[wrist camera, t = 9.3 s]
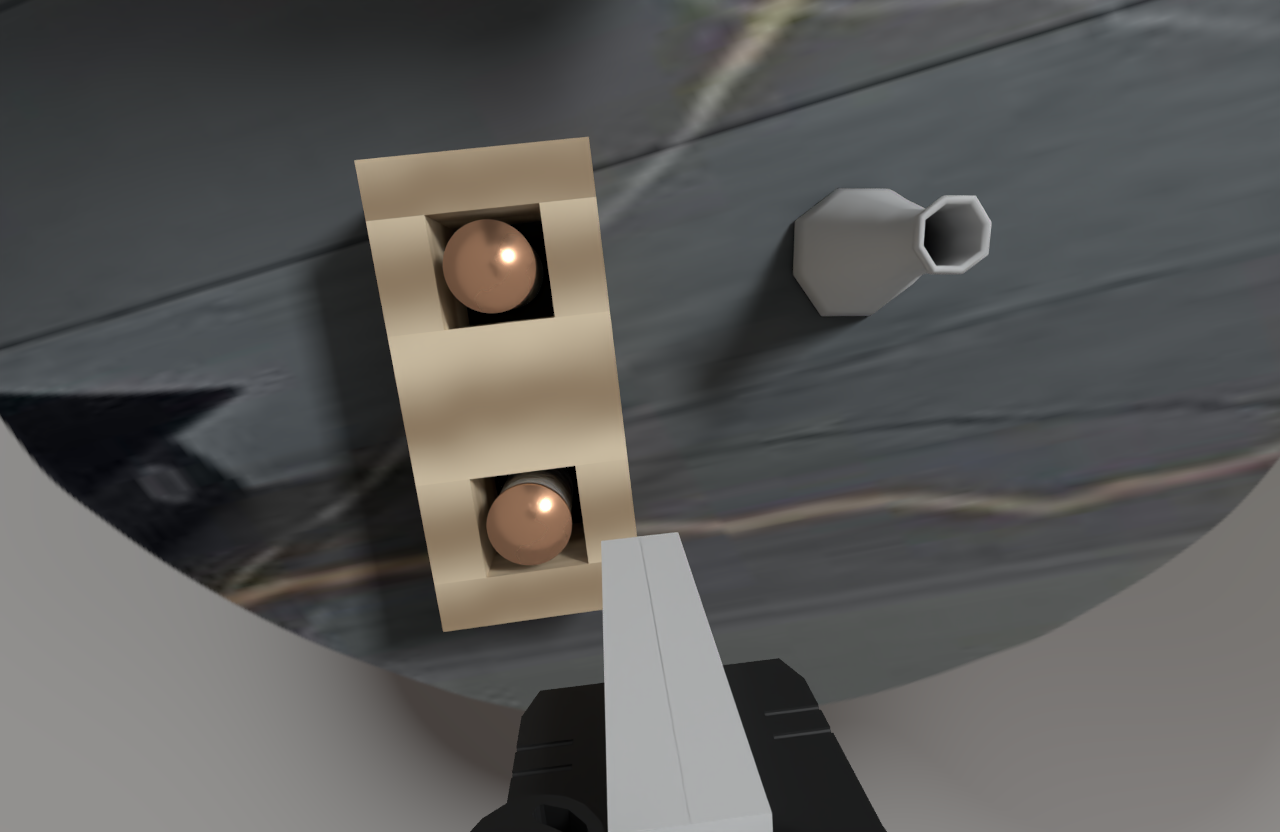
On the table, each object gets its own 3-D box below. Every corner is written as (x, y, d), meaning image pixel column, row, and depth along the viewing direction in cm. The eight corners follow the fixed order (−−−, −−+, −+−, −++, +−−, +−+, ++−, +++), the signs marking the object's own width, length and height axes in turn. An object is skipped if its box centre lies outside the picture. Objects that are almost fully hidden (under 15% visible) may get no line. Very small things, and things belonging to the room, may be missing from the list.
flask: (808, 336, 35) (891, 350, 26) (773, 210, 34) (846, 173, 24) (927, 295, 35) (1056, 292, 26) (897, 167, 34) (1021, 113, 24)
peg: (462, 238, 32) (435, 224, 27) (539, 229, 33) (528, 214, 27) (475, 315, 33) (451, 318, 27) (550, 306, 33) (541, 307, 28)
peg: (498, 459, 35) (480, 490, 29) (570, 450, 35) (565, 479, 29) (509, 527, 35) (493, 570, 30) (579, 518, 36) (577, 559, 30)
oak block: (397, 186, 32) (354, 160, 26) (589, 166, 33) (588, 136, 27) (467, 578, 36) (443, 631, 30) (636, 555, 37) (644, 603, 31)
